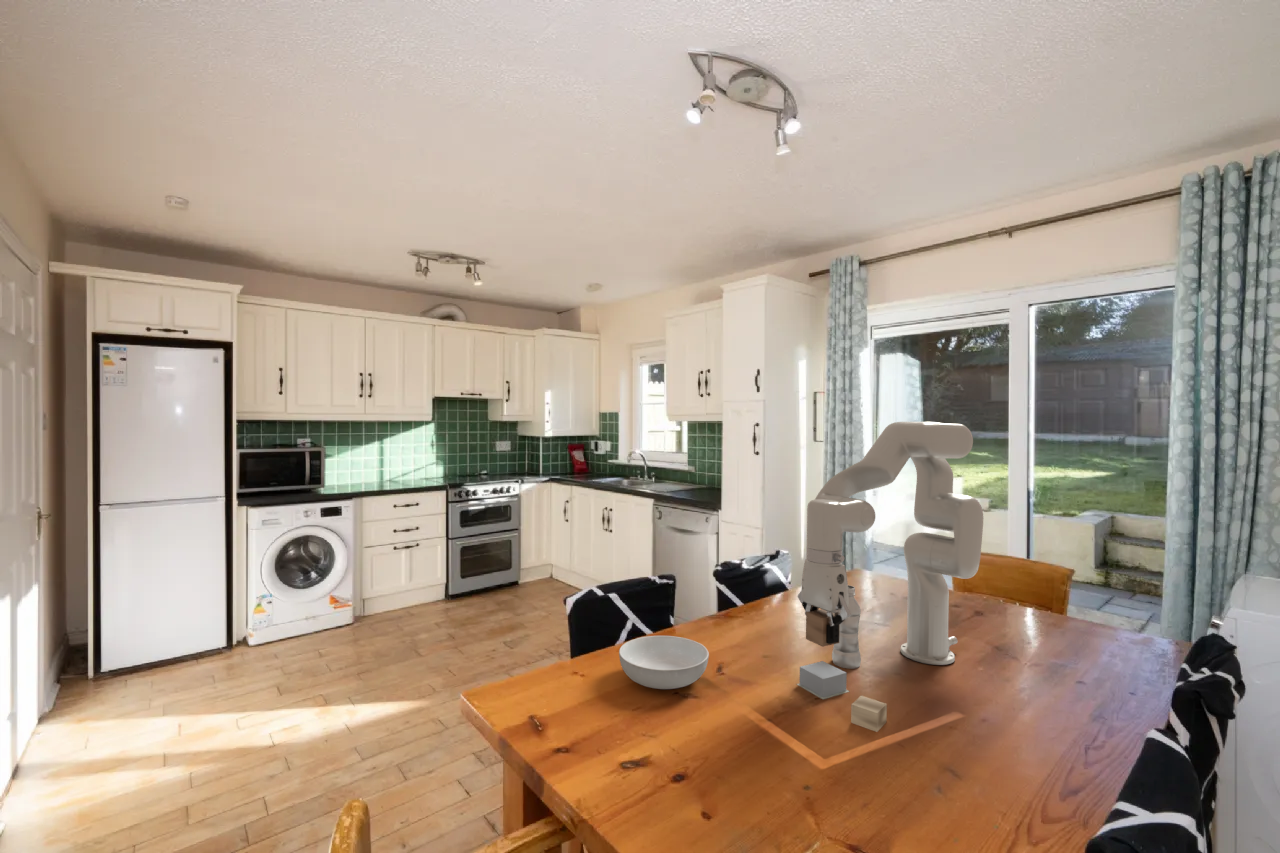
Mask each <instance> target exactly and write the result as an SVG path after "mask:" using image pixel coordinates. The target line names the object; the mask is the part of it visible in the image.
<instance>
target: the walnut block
mask: <svg viewBox="0 0 1280 853" xmlns="http://www.w3.org/2000/svg"><path fill="white" fill-rule="evenodd" d="M834 617H835V614H834V613H833V618H834ZM827 625H829V622H828V617H827V611H826V610H823V609H820V608H819V610H815V611H809V612H806V615H805V640H807V641H810V642H812V643H814V644H816V645H818V646H820V647H828V646H832V645H834V644H837V643H839V641H838V642H836V643H832V644H828V643H827V642H826V633H827ZM839 632H840V625H839Z"/></svg>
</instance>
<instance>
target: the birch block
mask: <svg viewBox="0 0 1280 853" xmlns="http://www.w3.org/2000/svg"><path fill="white" fill-rule="evenodd" d="M887 705H888V704H887V703H886V702H883V701H879V700H876V699H874V698H870V697H867V696H864V695H860V696H859V697H858V698H856V699H855V701H854V702H852V703H851V708H850V709H851V710H850V717H851V718H850V723H852V724H854V725H856V726H860V727H862V728H865V729H867V730H870V731H873V732H876V733H878V732H879V731H880V730H881V729H882V728H883V726H885V725H886V723H887V718H888V717H887V713H888V712H887V711H888V710H887V709H888V708H887Z"/></svg>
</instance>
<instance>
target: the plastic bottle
mask: <svg viewBox="0 0 1280 853" xmlns="http://www.w3.org/2000/svg"><path fill="white" fill-rule="evenodd" d="M848 596H849V605H848V608H849V610H850V612H851V616H850V617H848V618H846V619H845V620H844V621H843V622H842V624H840V632H839V643H837V644H833V647H832V650H831V651H832V652H831V658H832V663H833V664H834V666H837V667H839V668H842V669H843V668H844V669H848V670H849V669H858V668H860V666H861V661H862V657H861V651H860V644H859V629H860V628H859V627H860V626H859V625H860V618H861V613H862V611H861V610H862V609H861V606H860V604H859V602H858V600H856V598H855V596H856V588H855V586H853V585H850V584H848ZM840 613H841V610H840Z"/></svg>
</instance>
